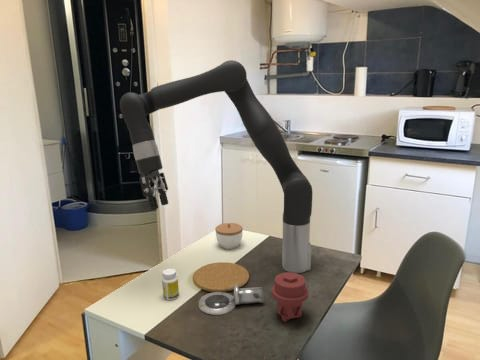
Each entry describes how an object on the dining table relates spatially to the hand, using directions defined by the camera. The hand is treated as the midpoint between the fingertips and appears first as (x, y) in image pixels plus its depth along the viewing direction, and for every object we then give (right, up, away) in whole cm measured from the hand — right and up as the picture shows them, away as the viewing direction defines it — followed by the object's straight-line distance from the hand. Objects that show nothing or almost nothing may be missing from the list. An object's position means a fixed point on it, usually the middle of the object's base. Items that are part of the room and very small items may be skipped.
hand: (160, 207), depth 122 cm
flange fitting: (+22, -28, -7) cm, 37 cm away
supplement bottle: (+4, -28, -3) cm, 28 cm away
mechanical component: (+39, -30, -14) cm, 51 cm away
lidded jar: (+21, -18, +33) cm, 43 cm away
